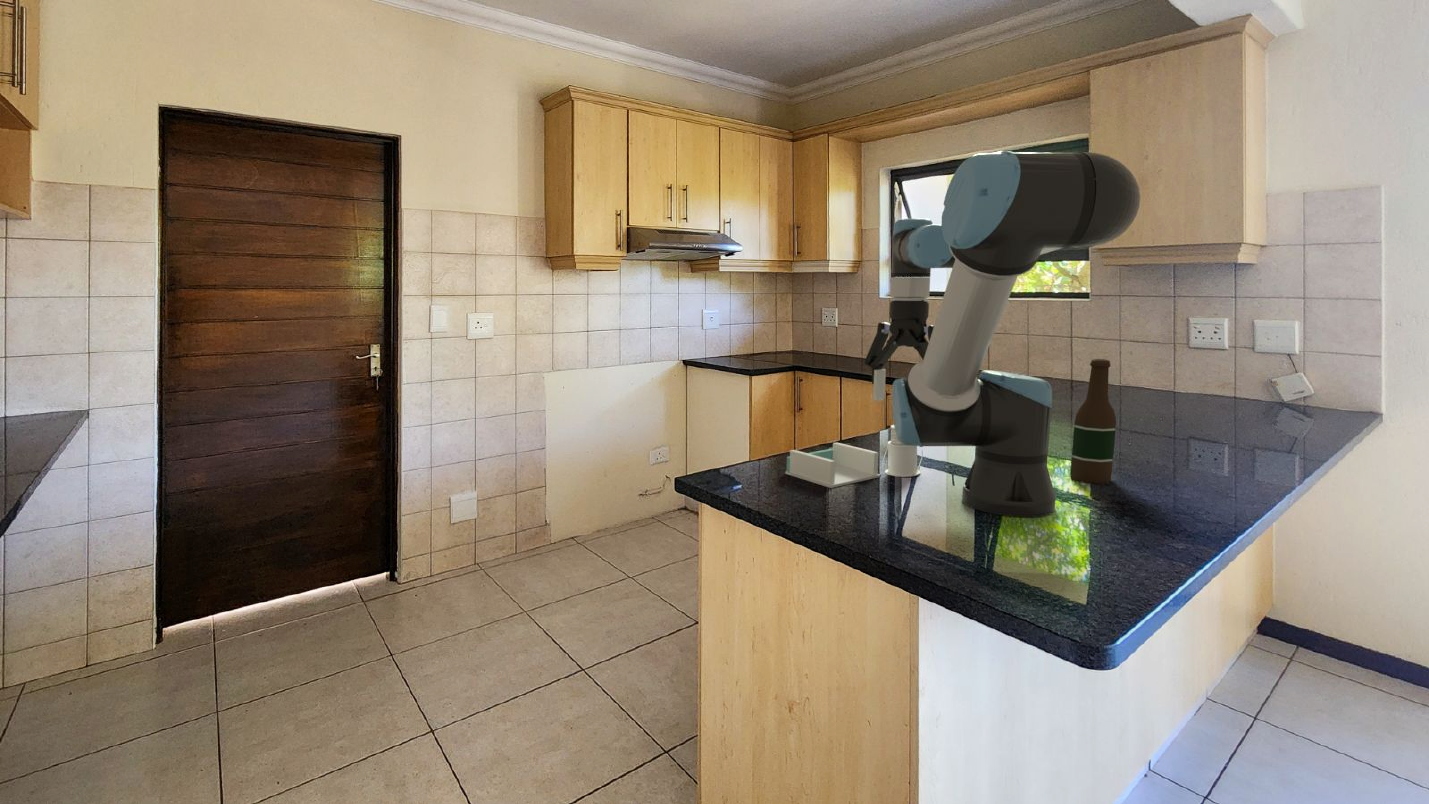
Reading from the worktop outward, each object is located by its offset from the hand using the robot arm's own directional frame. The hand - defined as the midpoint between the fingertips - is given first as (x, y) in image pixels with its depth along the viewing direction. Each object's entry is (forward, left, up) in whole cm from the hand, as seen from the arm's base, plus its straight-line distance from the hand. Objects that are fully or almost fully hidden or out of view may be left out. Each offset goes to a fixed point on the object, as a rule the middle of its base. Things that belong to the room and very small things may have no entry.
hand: (904, 404), depth 144 cm
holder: (+7, +13, -14) cm, 21 cm away
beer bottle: (-25, -27, -14) cm, 40 cm away
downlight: (0, 0, -14) cm, 14 cm away
